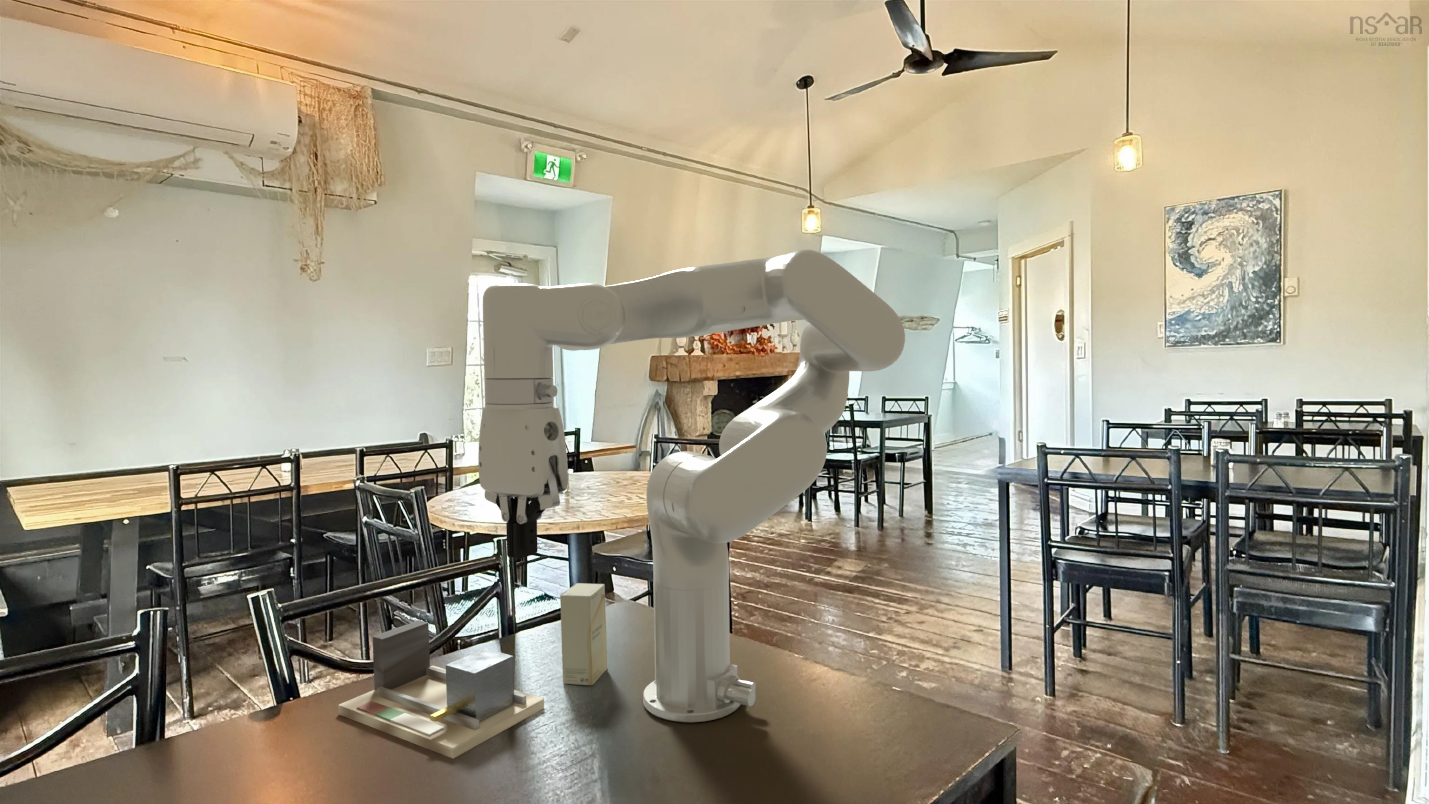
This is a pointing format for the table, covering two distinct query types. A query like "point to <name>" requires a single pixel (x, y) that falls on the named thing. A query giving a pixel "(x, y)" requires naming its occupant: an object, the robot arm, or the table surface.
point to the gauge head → (479, 685)
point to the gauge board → (424, 697)
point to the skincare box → (583, 633)
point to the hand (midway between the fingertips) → (522, 555)
